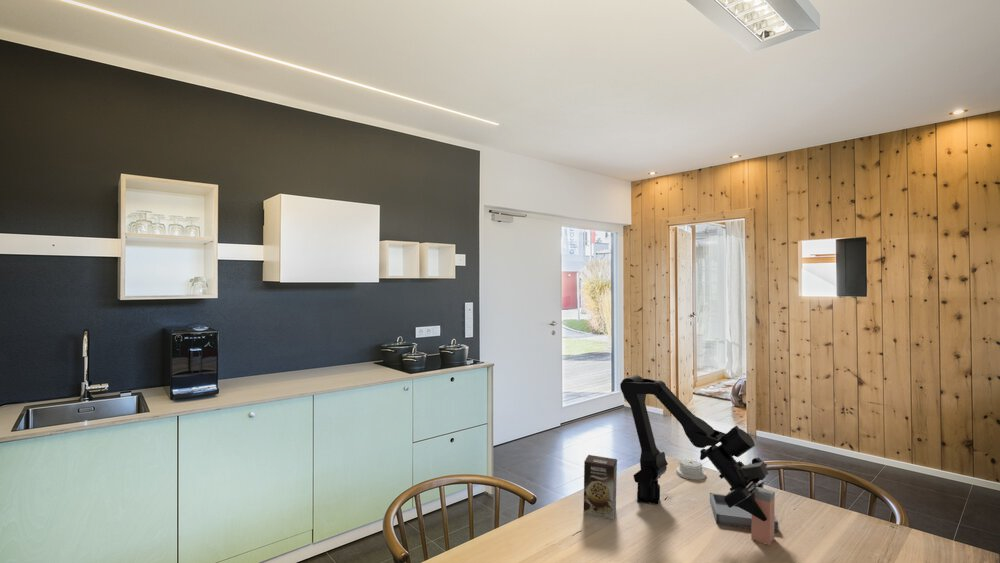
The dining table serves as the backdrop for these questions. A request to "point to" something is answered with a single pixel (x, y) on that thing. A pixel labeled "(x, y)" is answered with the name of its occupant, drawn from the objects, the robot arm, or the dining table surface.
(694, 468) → the white round piece
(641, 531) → the dining table surface
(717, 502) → the tray
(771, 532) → the pink and gray block
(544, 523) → the dining table surface
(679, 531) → the dining table surface
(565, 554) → the dining table surface
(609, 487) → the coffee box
